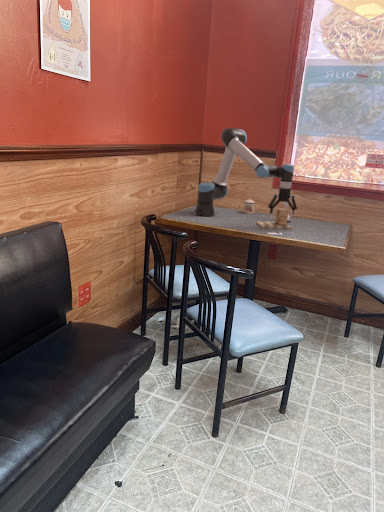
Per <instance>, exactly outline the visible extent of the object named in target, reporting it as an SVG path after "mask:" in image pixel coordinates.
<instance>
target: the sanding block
mask: <svg viewBox="0 0 384 512" xmlns="http://www.w3.org/2000/svg"><path fill="white" fill-rule="evenodd" d="M275 210H276V211H275V217H274V219H275V220H274V222H275V223H276V224H278V225H279V226H286V225H288V224H287V223H288V221H287V218H288V215H289V210H285V209H284V208H276V209H275Z"/></svg>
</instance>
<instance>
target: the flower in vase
mask: <svg viewBox="0 0 384 512" xmlns="http://www.w3.org/2000/svg"><path fill="white" fill-rule="evenodd" d="M291 195H293V191H292V189H291V192H290V196H291ZM282 205H283V209H285V210H287V209H288V206H289V204H288V203H287V202H282ZM287 211H288V210H287ZM289 215H290V214H288V218H287V222H290V221H292V220H290V219H289Z"/></svg>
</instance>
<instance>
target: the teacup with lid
mask: <svg viewBox="0 0 384 512" xmlns="http://www.w3.org/2000/svg"><path fill="white" fill-rule="evenodd" d="M255 206H256V207H257V208H256V207H255ZM255 208H256V209H255ZM258 210H259V205H258V204H256V201H254V200H253V199H252V198H250V197H249V198H248V199H246V200H243V210H242V212H243V214H246V215H247V214H248V215H253V214H254V213H255V212H257V211H258Z"/></svg>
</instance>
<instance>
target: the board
mask: <svg viewBox="0 0 384 512" xmlns="http://www.w3.org/2000/svg"><path fill="white" fill-rule="evenodd" d="M255 224H256V225H258V226H260V228H262V229H282V230H283V229H284V230H285V229H286V230H291V229H292V226H291V225H289V224H287V225H286V226H279V225H278V224H276V223H275V221H256V222H255Z"/></svg>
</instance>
